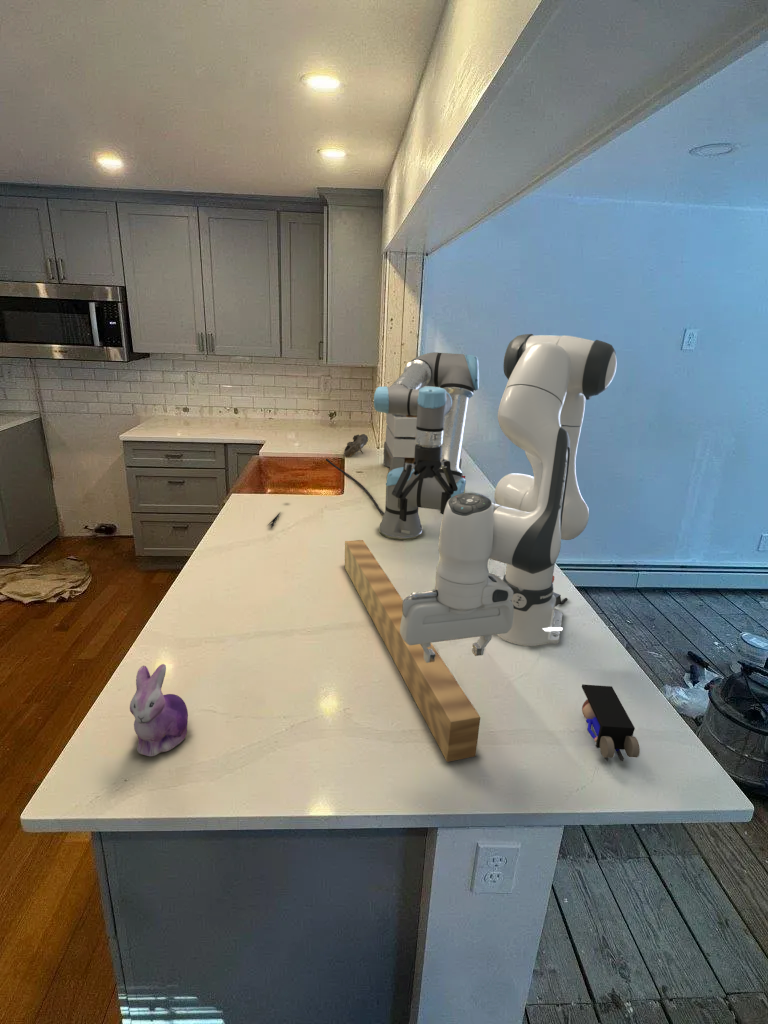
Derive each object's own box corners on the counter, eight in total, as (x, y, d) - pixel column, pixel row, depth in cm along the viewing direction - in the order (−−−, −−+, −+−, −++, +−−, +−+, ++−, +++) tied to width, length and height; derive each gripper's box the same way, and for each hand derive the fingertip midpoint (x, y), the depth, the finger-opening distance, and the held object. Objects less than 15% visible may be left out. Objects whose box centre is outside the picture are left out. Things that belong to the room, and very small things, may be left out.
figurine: (137, 767, 96) (127, 693, 90) (132, 728, 104) (122, 659, 99) (195, 750, 100) (189, 678, 95) (185, 714, 108) (179, 646, 103)
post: (344, 567, 173) (344, 541, 170) (362, 565, 174) (363, 539, 171) (446, 762, 100) (450, 722, 97) (475, 756, 101) (480, 717, 99)
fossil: (344, 440, 316) (365, 425, 311) (355, 453, 319) (376, 438, 314) (337, 453, 296) (360, 437, 291) (349, 467, 299) (371, 452, 294)
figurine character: (636, 775, 100) (605, 711, 114) (646, 744, 97) (613, 682, 111) (599, 774, 100) (572, 710, 114) (608, 744, 97) (579, 681, 110)
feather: (287, 506, 225) (290, 502, 224) (270, 530, 198) (272, 526, 198) (283, 504, 225) (286, 500, 224) (265, 527, 198) (268, 523, 197)
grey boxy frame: (382, 463, 289) (386, 382, 275) (445, 464, 293) (451, 384, 279) (390, 482, 257) (394, 392, 243) (460, 483, 261) (468, 394, 247)
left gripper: (394, 450, 147) (390, 526, 155) (474, 444, 158) (466, 516, 165) (382, 444, 154) (378, 517, 161) (459, 439, 165) (452, 508, 172)
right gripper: (409, 602, 91) (404, 675, 96) (522, 591, 97) (512, 660, 101) (397, 585, 97) (392, 654, 101) (504, 574, 102) (495, 641, 107)
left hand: (423, 517), depth 163 cm, fingers open, 13 cm apart
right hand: (453, 657), depth 101 cm, fingers open, 8 cm apart
